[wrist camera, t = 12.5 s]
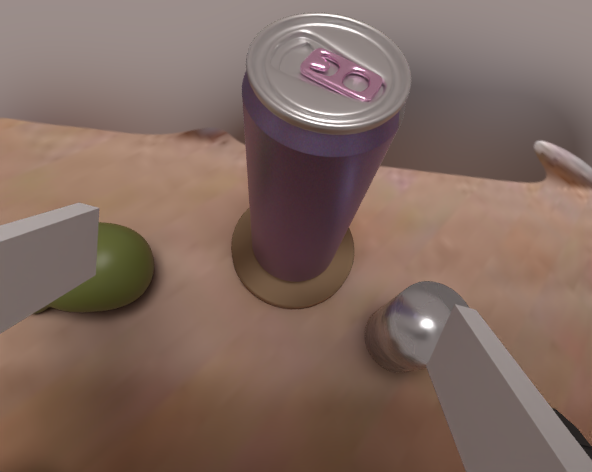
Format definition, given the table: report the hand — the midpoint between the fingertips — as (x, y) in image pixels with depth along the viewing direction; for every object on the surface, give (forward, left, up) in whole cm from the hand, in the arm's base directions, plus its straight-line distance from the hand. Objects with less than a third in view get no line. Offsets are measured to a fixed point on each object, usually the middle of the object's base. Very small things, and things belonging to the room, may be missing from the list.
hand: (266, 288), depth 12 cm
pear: (+9, +9, -12) cm, 18 cm away
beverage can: (+5, -5, -11) cm, 13 cm away
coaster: (+5, -5, -12) cm, 14 cm away
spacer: (-4, -8, -12) cm, 15 cm away
